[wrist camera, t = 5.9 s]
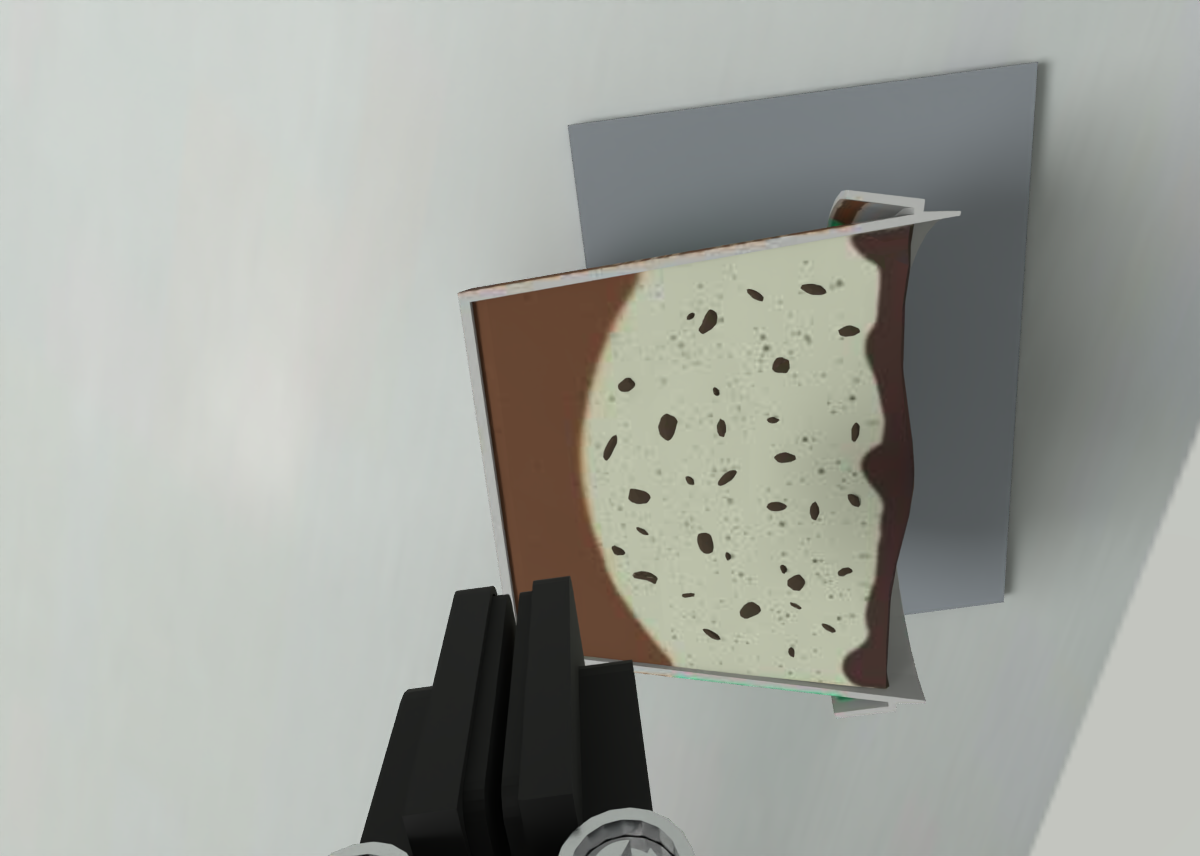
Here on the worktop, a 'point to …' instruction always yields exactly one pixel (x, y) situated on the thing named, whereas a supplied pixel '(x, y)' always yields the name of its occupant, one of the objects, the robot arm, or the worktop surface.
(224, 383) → the worktop surface
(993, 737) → the worktop surface
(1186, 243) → the worktop surface
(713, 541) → the food container
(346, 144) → the worktop surface
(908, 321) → the mat
